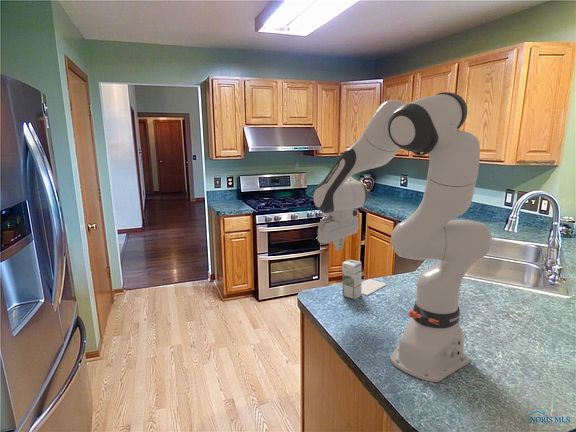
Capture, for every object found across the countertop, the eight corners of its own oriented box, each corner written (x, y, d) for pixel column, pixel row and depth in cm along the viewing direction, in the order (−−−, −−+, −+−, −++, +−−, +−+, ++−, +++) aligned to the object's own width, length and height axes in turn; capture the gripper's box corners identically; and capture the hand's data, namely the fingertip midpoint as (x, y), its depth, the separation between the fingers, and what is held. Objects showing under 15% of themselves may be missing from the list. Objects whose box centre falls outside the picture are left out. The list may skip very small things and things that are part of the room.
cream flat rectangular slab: (367, 295, 138) (367, 294, 138) (349, 289, 145) (349, 288, 145) (387, 284, 148) (387, 283, 148) (369, 279, 155) (369, 278, 155)
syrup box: (362, 295, 139) (362, 261, 136) (354, 300, 135) (354, 265, 132) (350, 291, 143) (349, 258, 140) (342, 296, 139) (341, 262, 136)
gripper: (326, 219, 118) (327, 258, 120) (361, 210, 131) (361, 244, 134) (312, 217, 122) (314, 254, 125) (348, 208, 136) (348, 241, 139)
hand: (338, 249), depth 130 cm, fingers closed
